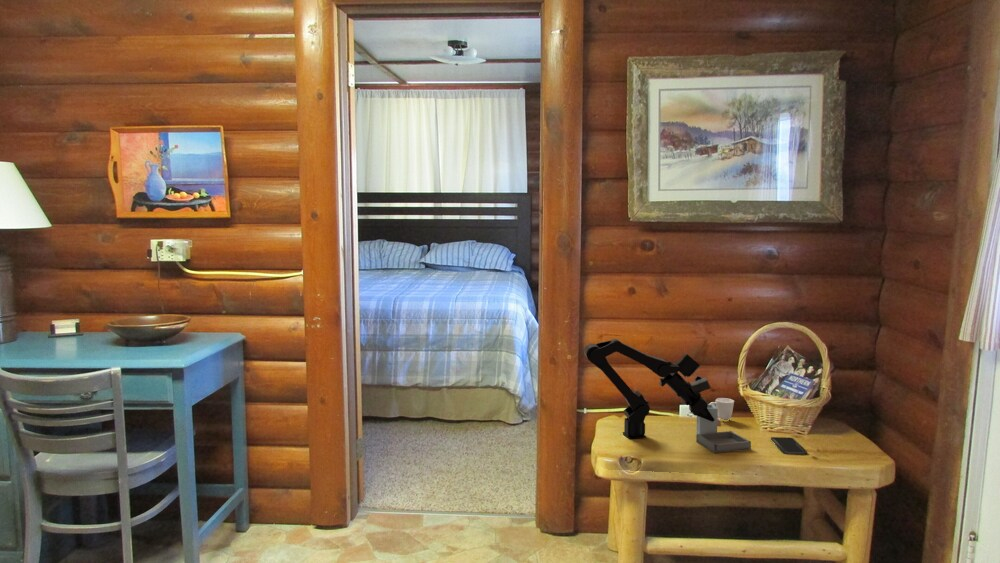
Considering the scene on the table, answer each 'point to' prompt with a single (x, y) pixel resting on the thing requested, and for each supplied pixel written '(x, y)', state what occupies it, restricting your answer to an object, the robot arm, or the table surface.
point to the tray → (723, 442)
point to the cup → (724, 407)
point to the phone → (789, 446)
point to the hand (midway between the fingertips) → (711, 416)
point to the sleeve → (707, 425)
